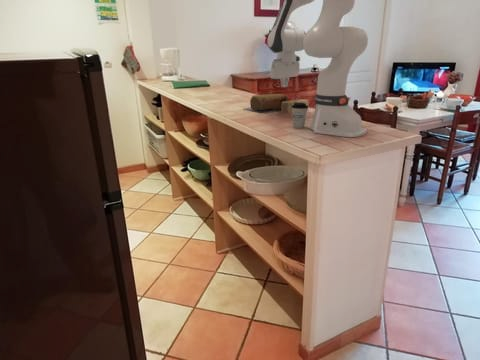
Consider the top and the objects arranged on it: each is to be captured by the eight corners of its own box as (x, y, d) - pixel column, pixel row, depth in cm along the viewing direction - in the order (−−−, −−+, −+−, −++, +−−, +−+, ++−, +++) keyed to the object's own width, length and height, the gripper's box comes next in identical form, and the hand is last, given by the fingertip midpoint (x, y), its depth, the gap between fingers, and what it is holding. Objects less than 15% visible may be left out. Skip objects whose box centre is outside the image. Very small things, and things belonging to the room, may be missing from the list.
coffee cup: (295, 124, 151) (297, 101, 148) (309, 126, 147) (311, 103, 143) (287, 127, 146) (288, 103, 143) (301, 130, 142) (303, 105, 138)
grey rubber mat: (289, 107, 189) (289, 107, 189) (266, 113, 175) (266, 112, 175) (267, 104, 199) (267, 103, 199) (243, 109, 185) (243, 108, 185)
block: (249, 94, 180) (278, 92, 191) (248, 109, 183) (277, 106, 193) (261, 97, 172) (291, 94, 182) (261, 112, 174) (290, 109, 185)
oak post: (288, 113, 176) (307, 109, 185) (288, 103, 174) (308, 100, 183) (281, 111, 180) (300, 108, 189) (281, 102, 178) (301, 99, 187)
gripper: (278, 59, 161) (277, 89, 166) (302, 57, 175) (300, 85, 180) (267, 58, 165) (266, 88, 170) (291, 57, 179) (290, 84, 184)
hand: (284, 86), depth 175 cm, fingers closed
